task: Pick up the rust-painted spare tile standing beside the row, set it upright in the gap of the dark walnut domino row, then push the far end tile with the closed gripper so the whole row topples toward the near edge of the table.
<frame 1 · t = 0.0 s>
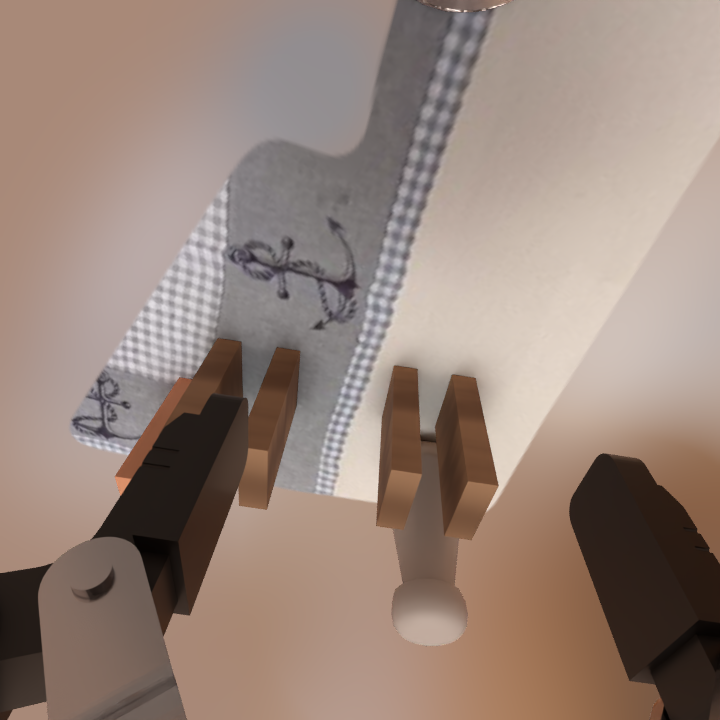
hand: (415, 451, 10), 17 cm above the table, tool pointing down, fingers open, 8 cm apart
domino 5: (230, 369, 32), on the table
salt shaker: (422, 456, 36), on the table
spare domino: (193, 404, 34), on the table
domino 2: (398, 395, 32), on the table
domino 1: (454, 403, 32), on the table
domino 4: (287, 377, 32), on the table
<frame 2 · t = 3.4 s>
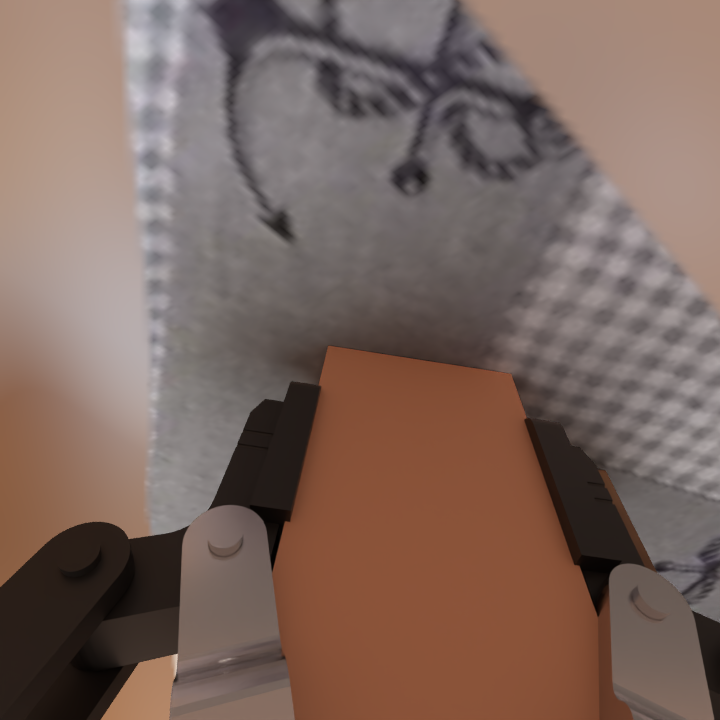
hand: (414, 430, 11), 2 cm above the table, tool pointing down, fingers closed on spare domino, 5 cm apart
domino 5: (517, 476, 14), on the table
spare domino: (413, 383, 13), on the table, touching gripper
when the fingers open (3 cm above the table, at t = 8.8 s): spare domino stays where it is, on the table.
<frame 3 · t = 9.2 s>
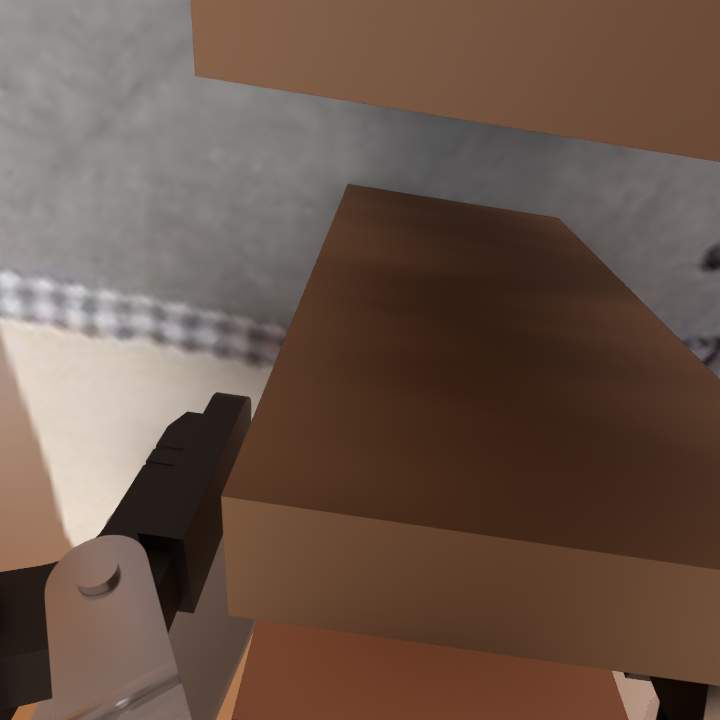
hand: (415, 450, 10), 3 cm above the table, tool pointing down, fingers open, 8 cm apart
domino 5: (494, 33, 9), on the table
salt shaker: (220, 488, 17), on the table
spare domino: (411, 368, 13), on the table
domino 4: (445, 234, 11), on the table
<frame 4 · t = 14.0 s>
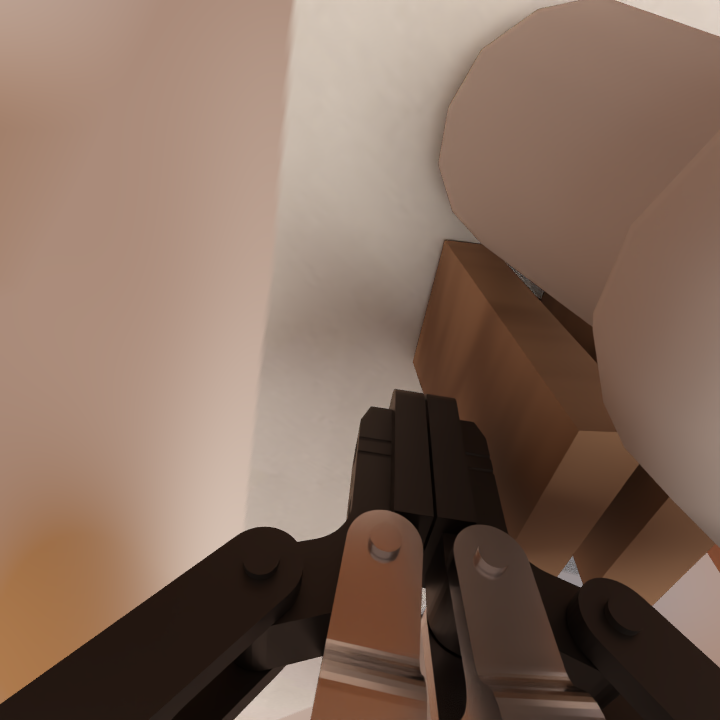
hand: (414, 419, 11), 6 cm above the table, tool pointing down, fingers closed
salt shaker: (531, 132, 13), on the table
domino 2: (553, 324, 17), on the table
domino 1: (448, 308, 16), on the table, tilted 10°
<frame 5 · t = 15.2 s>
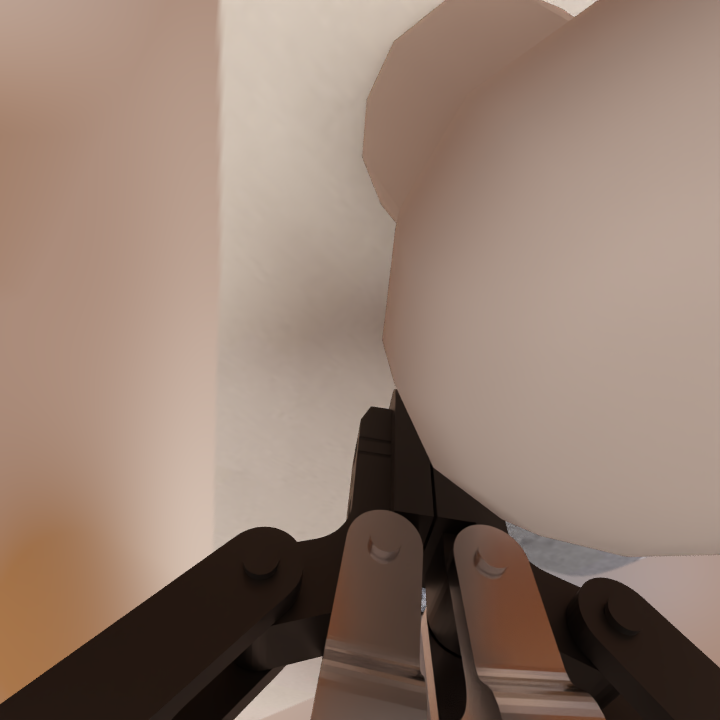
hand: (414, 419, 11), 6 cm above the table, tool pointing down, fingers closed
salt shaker: (465, 124, 13), on the table
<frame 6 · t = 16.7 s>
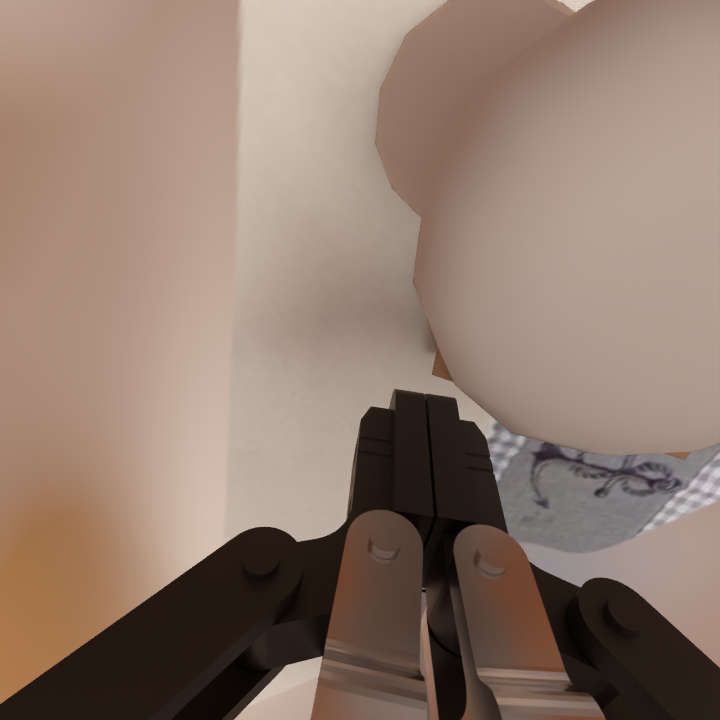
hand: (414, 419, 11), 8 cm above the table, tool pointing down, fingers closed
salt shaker: (471, 113, 14), on the table
domino 1: (449, 311, 17), point 1 cm above the table, tilted 68°, touching domino 2
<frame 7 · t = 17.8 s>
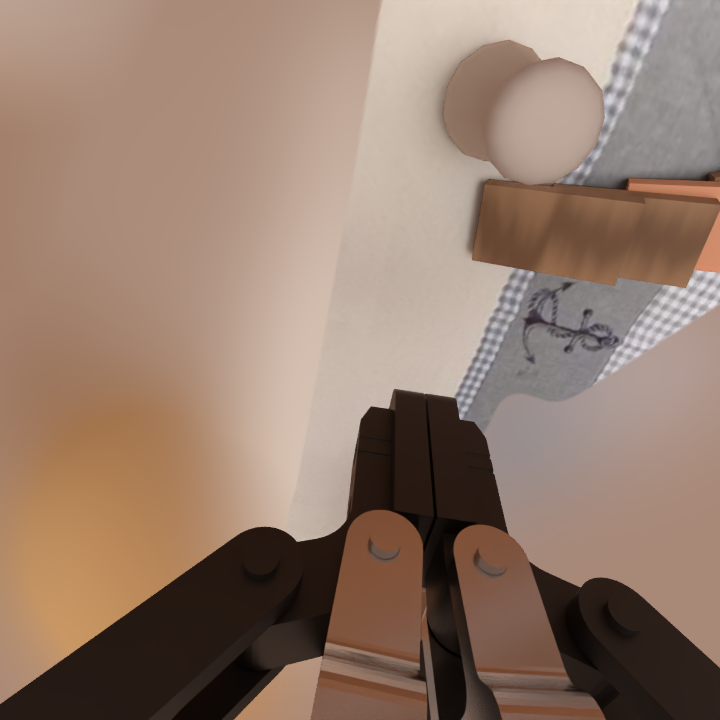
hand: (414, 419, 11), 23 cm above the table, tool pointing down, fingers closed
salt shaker: (488, 100, 27), on the table
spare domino: (618, 220, 30), point 1 cm above the table, tilted 70°, touching domino 2, domino 4
domino 2: (543, 225, 30), point 1 cm above the table, tilted 69°, touching domino 1, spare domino
domino 1: (480, 220, 30), point 1 cm above the table, tilted 69°, touching domino 2
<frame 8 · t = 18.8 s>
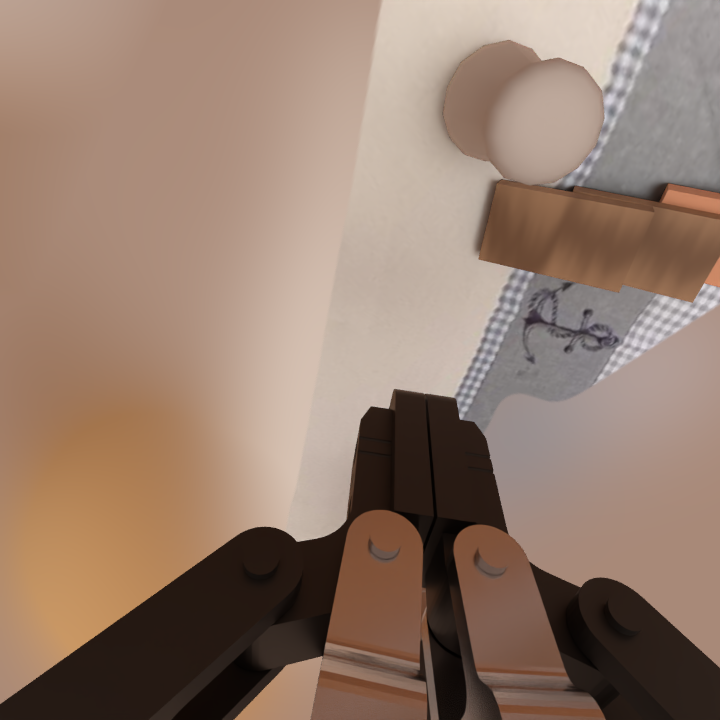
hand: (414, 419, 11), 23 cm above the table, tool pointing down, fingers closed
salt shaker: (488, 101, 27), on the table
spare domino: (649, 225, 29), point 1 cm above the table, tilted 65°, touching domino 2, domino 4
domino 2: (560, 226, 30), point 1 cm above the table, tilted 68°, touching domino 1, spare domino
domino 1: (489, 220, 30), point 1 cm above the table, tilted 69°, touching domino 2
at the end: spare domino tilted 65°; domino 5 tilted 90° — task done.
